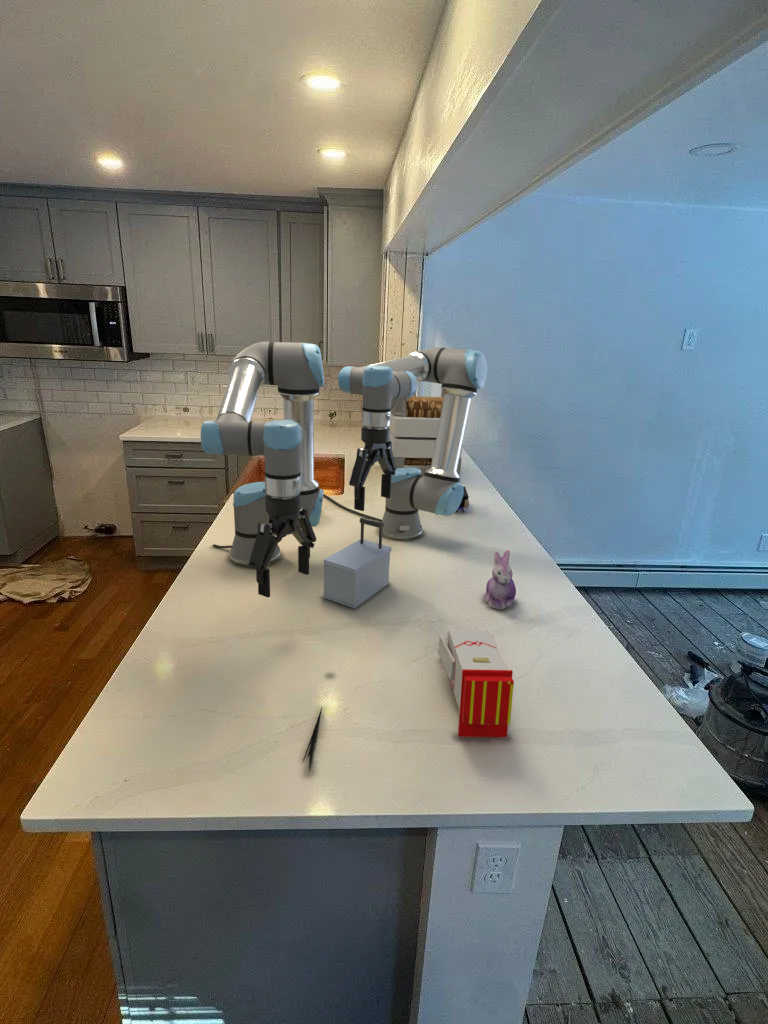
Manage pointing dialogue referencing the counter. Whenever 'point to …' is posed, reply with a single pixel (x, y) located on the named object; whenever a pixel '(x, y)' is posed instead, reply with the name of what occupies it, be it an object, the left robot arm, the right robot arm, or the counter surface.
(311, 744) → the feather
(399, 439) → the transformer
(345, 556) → the lid
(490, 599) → the figurine
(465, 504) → the figurine character
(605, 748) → the counter surface
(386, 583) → the chest
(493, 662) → the toy
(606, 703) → the counter surface
